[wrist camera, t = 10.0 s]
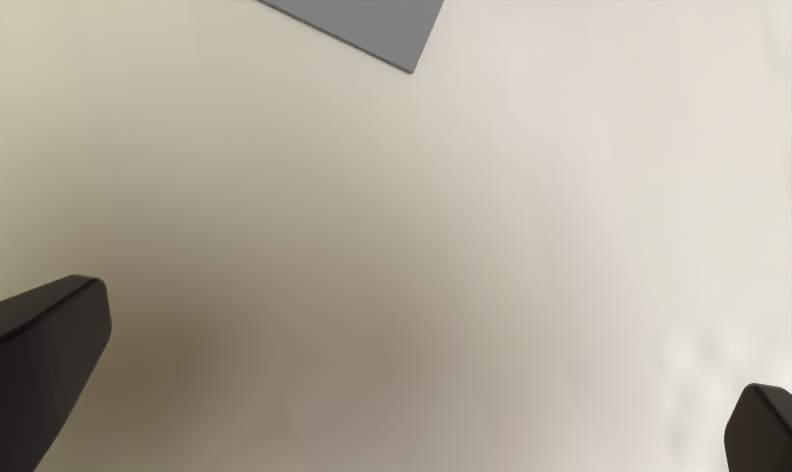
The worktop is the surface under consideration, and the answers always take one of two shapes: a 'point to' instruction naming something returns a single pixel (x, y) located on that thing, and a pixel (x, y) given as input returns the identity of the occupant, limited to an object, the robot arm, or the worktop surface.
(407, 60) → the grey flat slab
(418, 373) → the worktop surface
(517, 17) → the worktop surface
